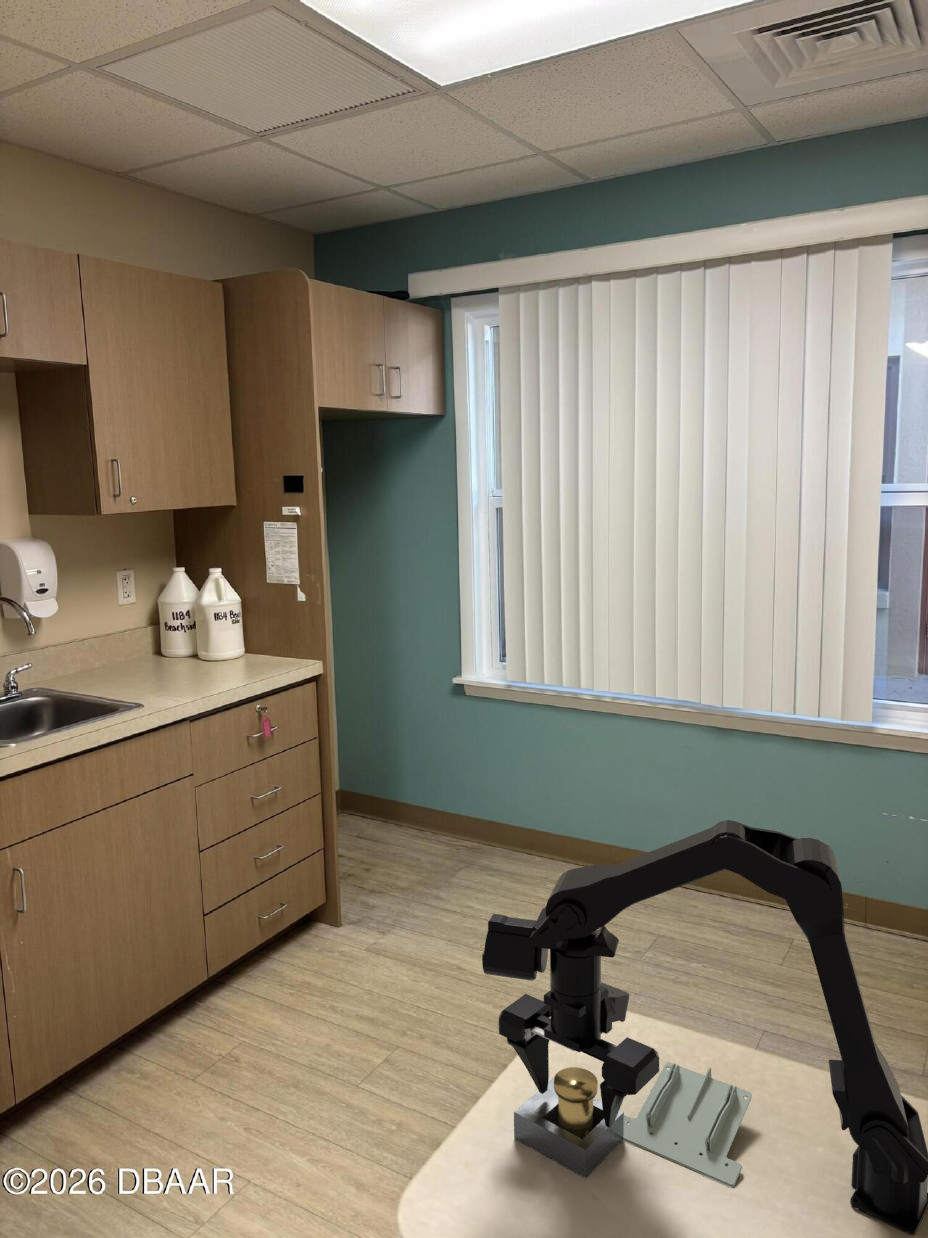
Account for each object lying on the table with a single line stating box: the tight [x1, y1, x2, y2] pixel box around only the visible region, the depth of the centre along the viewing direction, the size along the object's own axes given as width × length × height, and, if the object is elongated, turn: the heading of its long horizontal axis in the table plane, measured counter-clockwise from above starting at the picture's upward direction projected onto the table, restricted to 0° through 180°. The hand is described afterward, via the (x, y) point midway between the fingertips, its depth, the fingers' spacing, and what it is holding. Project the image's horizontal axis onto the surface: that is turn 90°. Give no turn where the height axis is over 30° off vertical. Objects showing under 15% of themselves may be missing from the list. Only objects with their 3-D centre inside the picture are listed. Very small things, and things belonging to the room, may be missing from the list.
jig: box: [513, 1077, 625, 1179], centre depth 111 cm, size 10×8×4 cm
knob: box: [553, 1066, 599, 1139], centre depth 110 cm, size 5×5×8 cm
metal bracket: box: [621, 1061, 753, 1189], centre depth 112 cm, size 14×6×15 cm
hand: (576, 1108), depth 110 cm, fingers open, 9 cm apart
